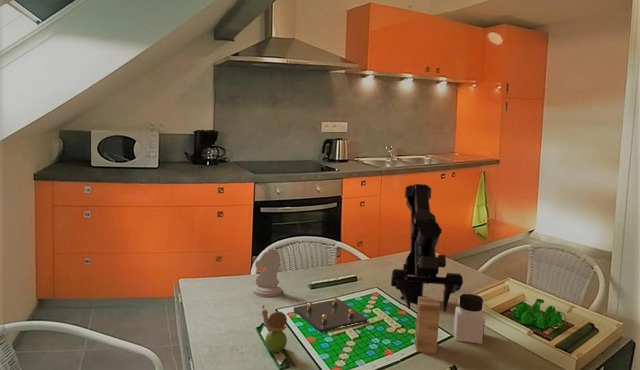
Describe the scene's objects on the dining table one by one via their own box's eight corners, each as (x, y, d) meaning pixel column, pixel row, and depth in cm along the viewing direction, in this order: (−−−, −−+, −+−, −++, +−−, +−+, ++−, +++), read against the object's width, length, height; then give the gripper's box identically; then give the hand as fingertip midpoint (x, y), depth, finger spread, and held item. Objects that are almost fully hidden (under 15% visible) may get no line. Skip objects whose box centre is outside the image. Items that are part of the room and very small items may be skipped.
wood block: (414, 342, 129) (418, 296, 127) (433, 344, 129) (437, 297, 127) (416, 351, 124) (420, 303, 122) (436, 353, 124) (440, 305, 122)
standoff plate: (338, 301, 154) (338, 293, 153) (367, 322, 140) (367, 312, 140) (293, 310, 146) (293, 301, 146) (319, 332, 132) (320, 322, 132)
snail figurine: (261, 345, 124) (262, 301, 122) (286, 345, 125) (287, 301, 123) (260, 355, 119) (261, 309, 117) (286, 355, 119) (288, 310, 117)
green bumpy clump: (569, 337, 137) (572, 314, 136) (513, 328, 141) (515, 305, 140) (560, 316, 151) (563, 295, 150) (509, 308, 155) (511, 288, 154)
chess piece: (256, 285, 166) (256, 242, 163) (284, 287, 165) (285, 244, 162) (249, 295, 156) (249, 251, 154) (278, 298, 155) (280, 253, 153)
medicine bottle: (482, 344, 130) (487, 302, 128) (455, 341, 131) (459, 299, 129) (479, 332, 136) (483, 292, 135) (453, 329, 138) (457, 289, 136)
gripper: (394, 240, 131) (393, 294, 122) (464, 245, 129) (469, 300, 120) (391, 259, 140) (390, 311, 130) (456, 264, 138) (460, 316, 129)
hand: (426, 309), depth 127 cm, fingers open, 9 cm apart
